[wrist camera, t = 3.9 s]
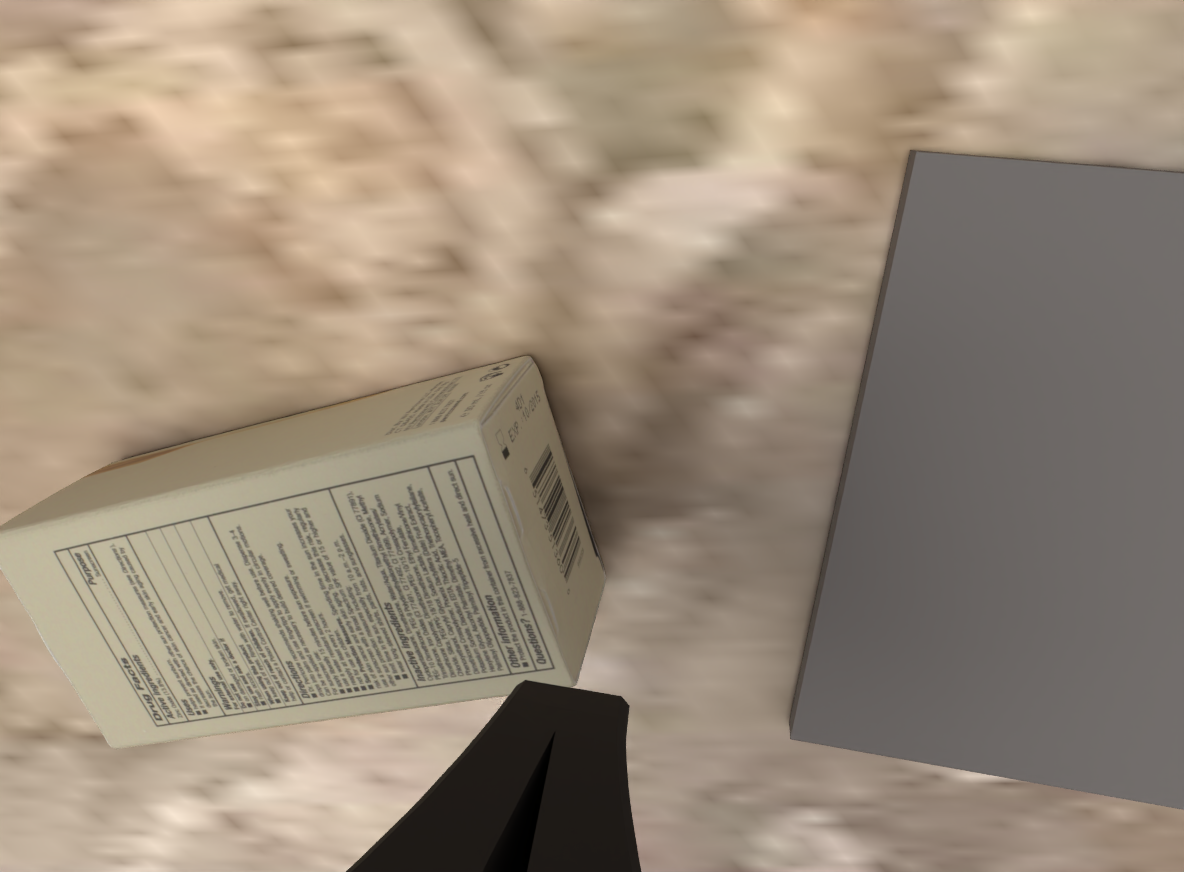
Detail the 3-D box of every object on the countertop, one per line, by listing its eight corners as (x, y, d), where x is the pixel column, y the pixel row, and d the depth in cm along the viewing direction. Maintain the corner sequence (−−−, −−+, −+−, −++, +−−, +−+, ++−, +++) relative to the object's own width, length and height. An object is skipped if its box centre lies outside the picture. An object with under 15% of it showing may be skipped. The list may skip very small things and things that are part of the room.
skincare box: (540, 347, 18) (110, 445, 21) (482, 417, 14) (-35, 525, 17) (614, 588, 20) (213, 645, 23) (582, 707, 16) (105, 755, 20)
